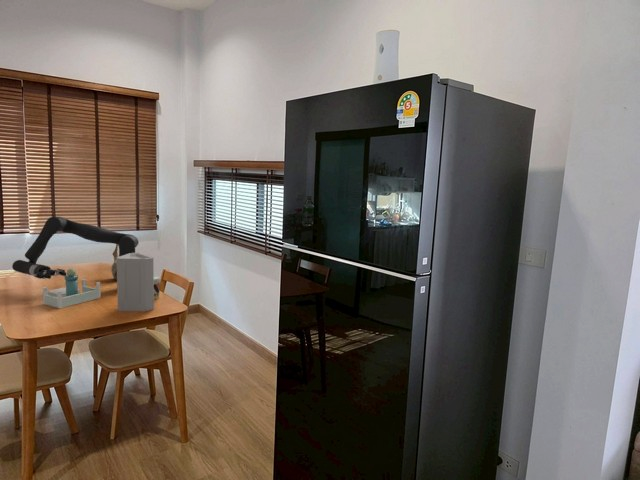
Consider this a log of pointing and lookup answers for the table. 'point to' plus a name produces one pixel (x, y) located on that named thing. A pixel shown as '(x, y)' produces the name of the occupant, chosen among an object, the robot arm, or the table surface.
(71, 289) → the teal peg with ball
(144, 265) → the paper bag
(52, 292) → the stone tile
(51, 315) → the table surface
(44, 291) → the rectangular frame with posts
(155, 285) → the coffee cup
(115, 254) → the ceramic vessel
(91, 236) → the robot arm
